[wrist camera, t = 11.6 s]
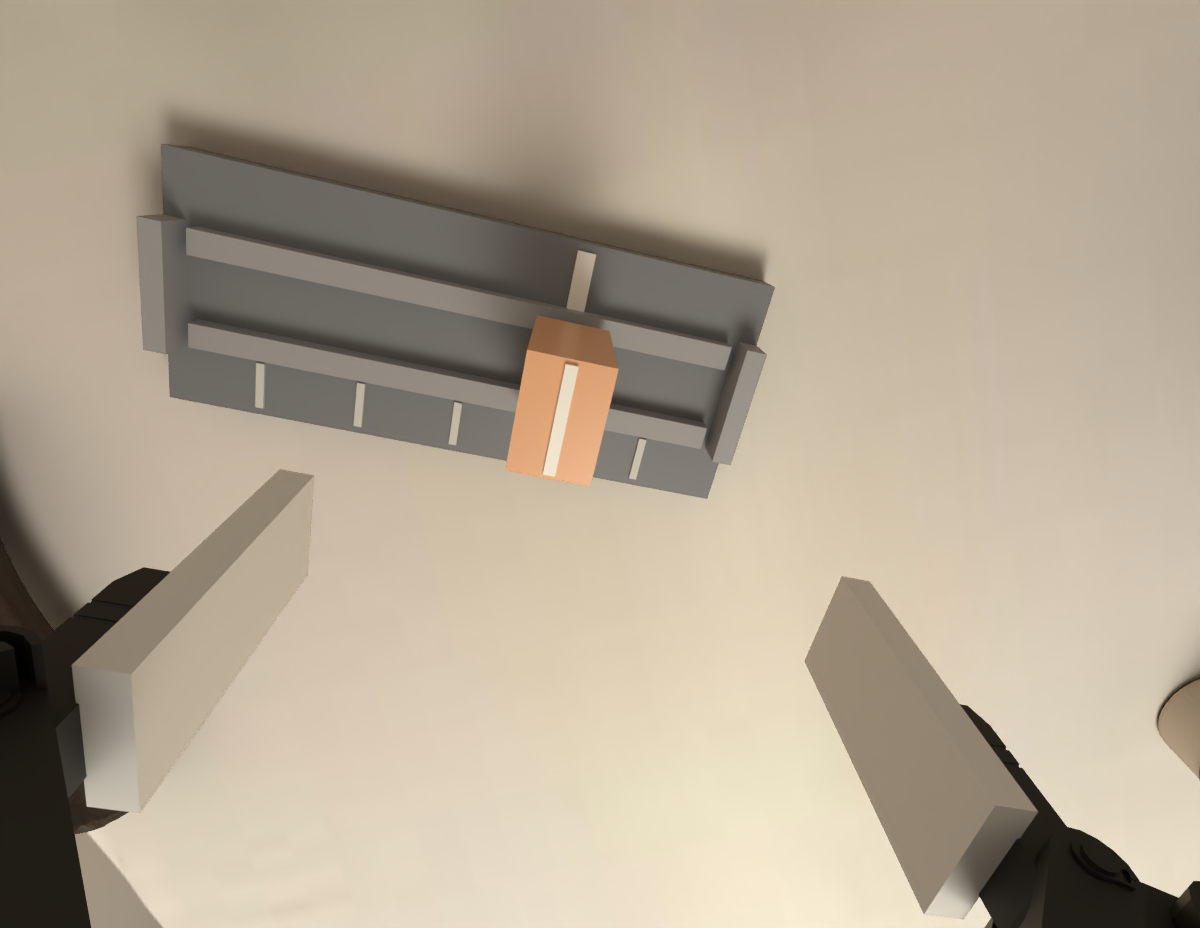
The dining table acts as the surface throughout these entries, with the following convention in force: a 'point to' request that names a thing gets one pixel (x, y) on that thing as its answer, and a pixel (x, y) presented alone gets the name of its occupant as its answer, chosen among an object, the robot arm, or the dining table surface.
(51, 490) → the dining table surface
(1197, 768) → the coffee cup
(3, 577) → the dark brown bone
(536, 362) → the fader
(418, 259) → the grey slider track
